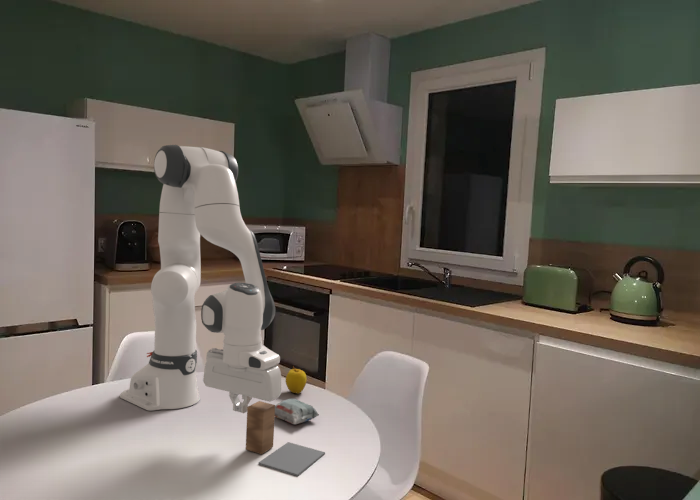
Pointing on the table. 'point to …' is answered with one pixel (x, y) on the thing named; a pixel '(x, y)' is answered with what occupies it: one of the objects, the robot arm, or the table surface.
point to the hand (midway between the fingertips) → (240, 411)
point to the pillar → (260, 427)
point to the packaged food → (295, 411)
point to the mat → (292, 458)
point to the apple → (296, 380)
